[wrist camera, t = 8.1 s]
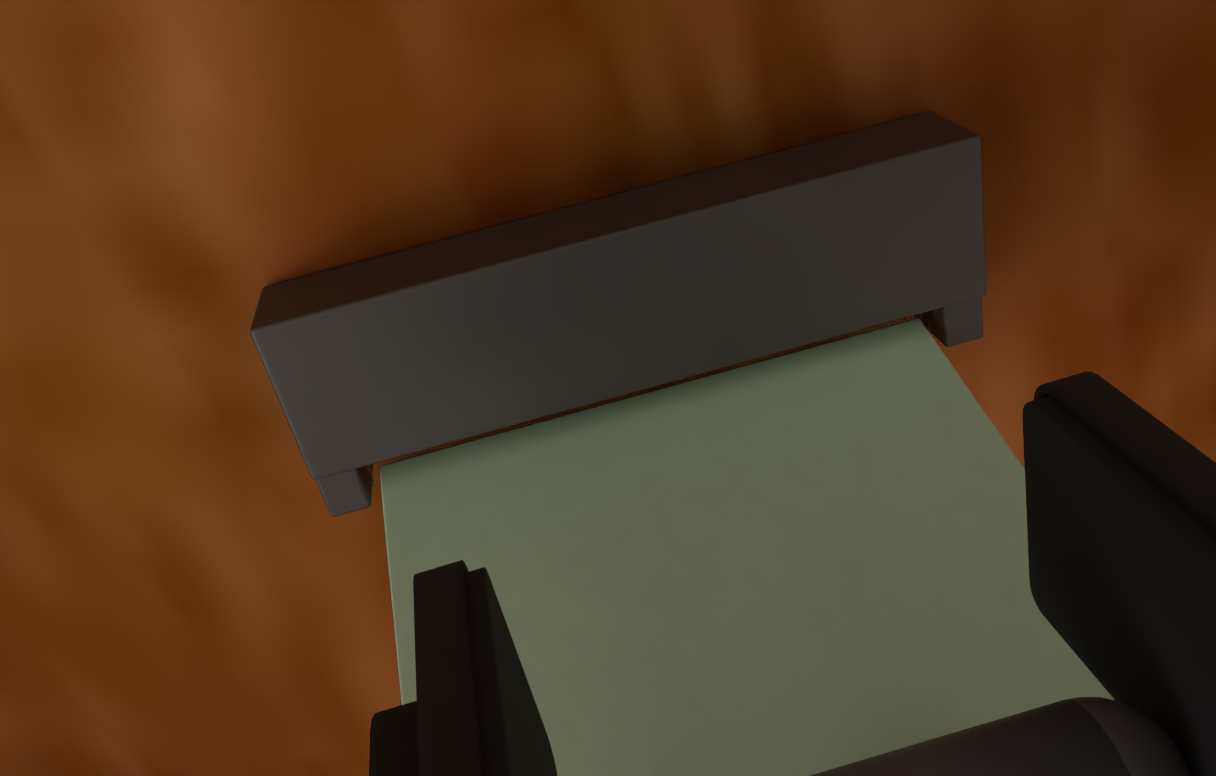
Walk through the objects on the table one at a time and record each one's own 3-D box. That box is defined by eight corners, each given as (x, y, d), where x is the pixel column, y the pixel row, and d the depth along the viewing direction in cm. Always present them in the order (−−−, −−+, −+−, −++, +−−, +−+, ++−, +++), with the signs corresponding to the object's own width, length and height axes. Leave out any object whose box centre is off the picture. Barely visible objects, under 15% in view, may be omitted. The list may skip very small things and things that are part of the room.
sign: (394, 500, 21) (286, 272, 17) (916, 356, 22) (936, 101, 17) (486, 1365, 12) (297, 1334, 8) (1393, 1071, 12) (1677, 893, 8)
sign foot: (261, 286, 20) (248, 330, 18) (932, 109, 20) (982, 134, 19) (337, 473, 22) (332, 528, 20) (944, 307, 22) (989, 346, 21)
